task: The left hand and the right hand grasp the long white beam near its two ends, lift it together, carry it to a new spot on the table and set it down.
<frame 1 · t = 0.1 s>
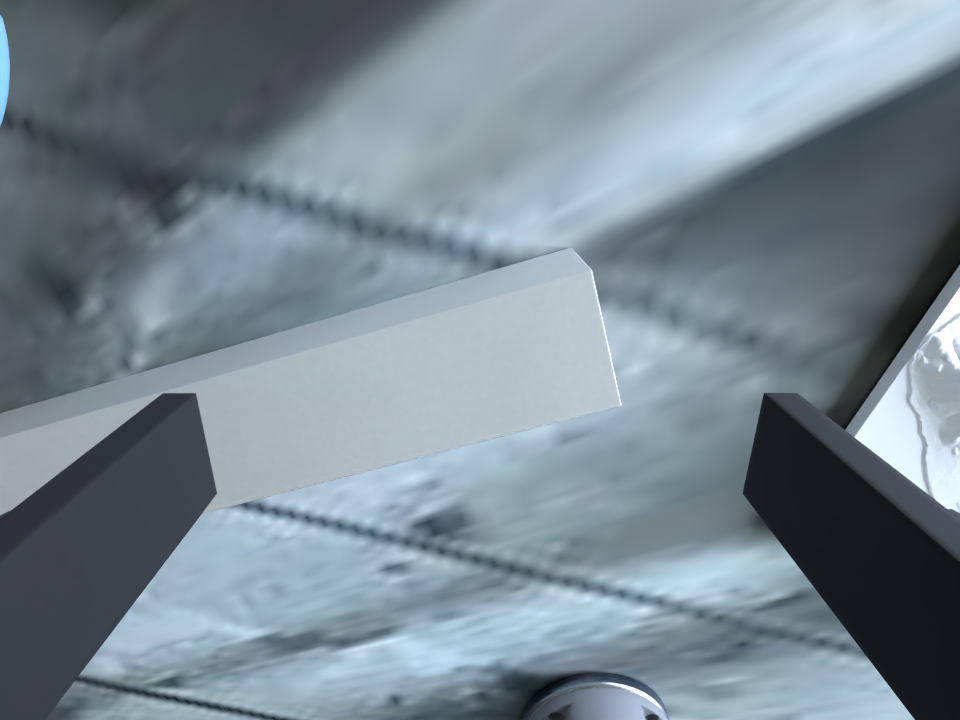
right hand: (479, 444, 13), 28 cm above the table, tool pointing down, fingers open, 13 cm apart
long white beam: (139, 431, 44), on the table
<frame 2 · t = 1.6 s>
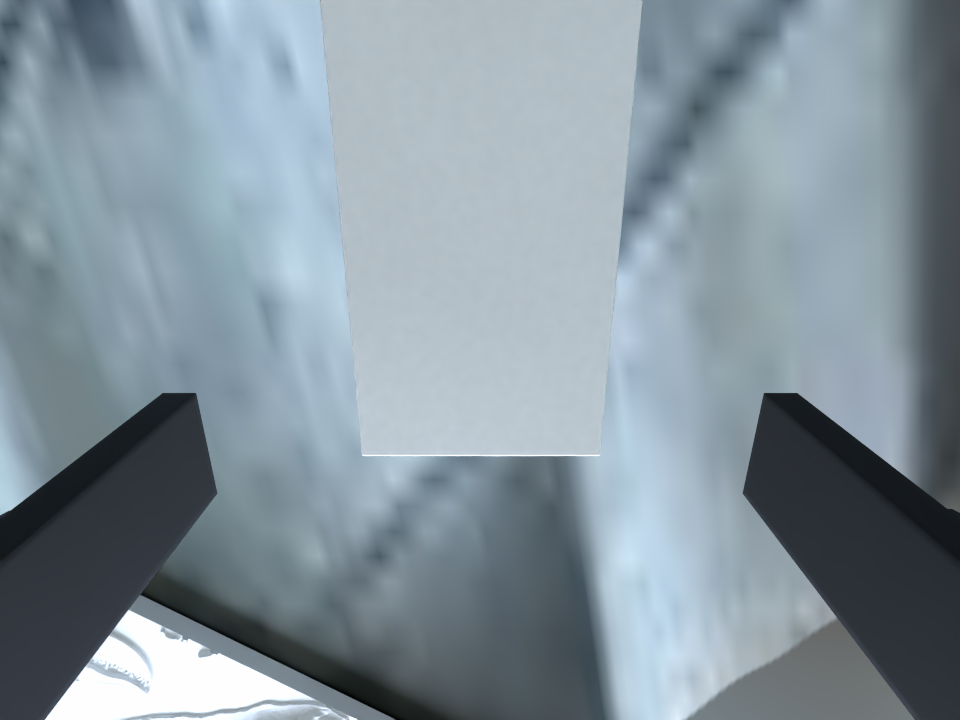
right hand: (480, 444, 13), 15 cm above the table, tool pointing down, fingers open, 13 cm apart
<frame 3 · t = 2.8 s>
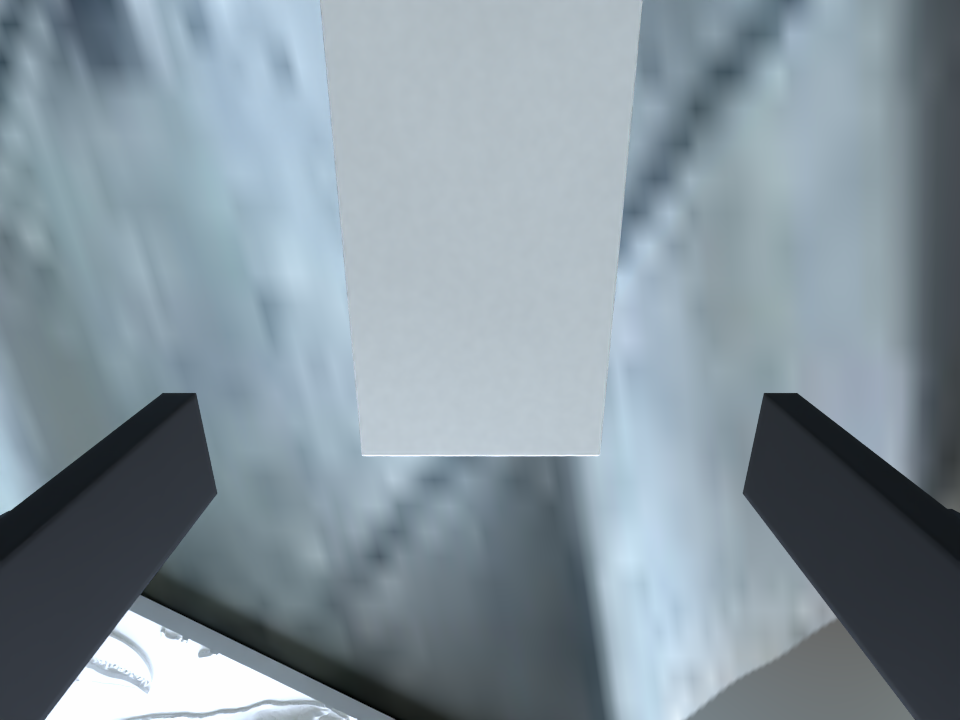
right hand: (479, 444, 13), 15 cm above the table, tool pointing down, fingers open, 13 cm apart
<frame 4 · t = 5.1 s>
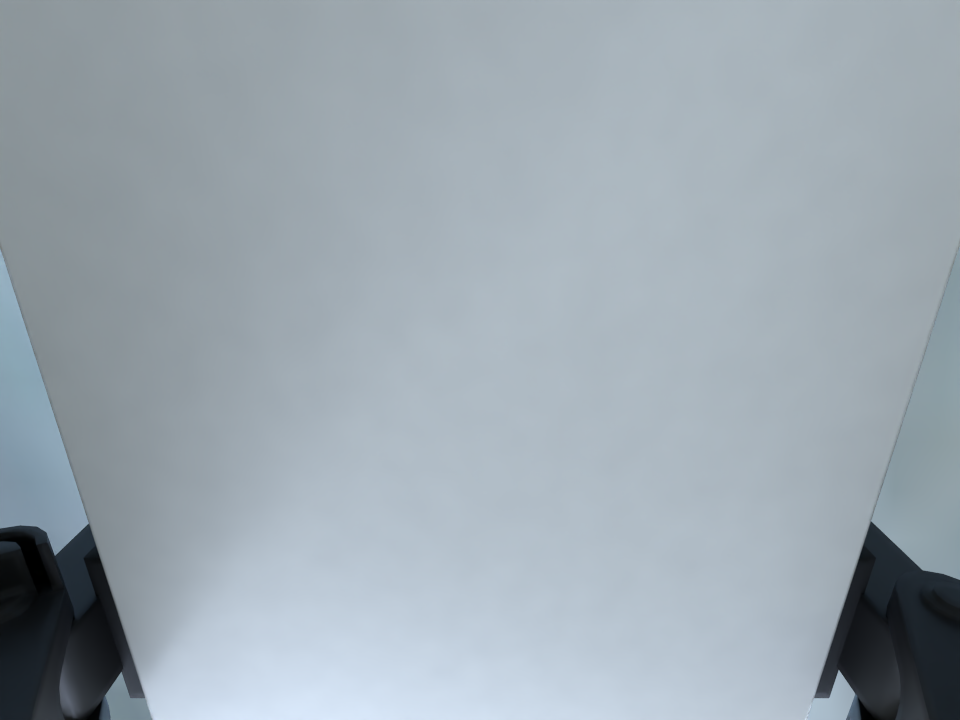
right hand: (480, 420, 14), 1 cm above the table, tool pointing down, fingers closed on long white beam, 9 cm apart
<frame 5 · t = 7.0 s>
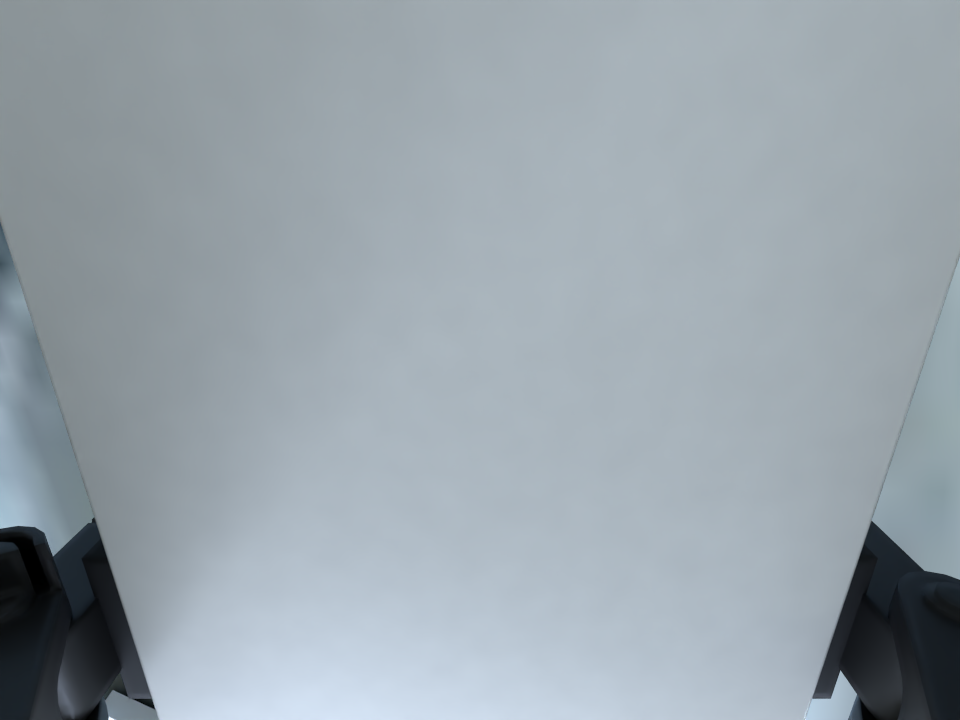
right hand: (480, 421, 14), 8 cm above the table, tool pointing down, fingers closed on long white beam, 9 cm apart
when the left hand's fingers open (2 cm above the table, at t = 8.9 s): long white beam drops 1 cm, on the table.
when the right hand's fingers open (2 cm above the table, at t = 8.9 s): long white beam drops 1 cm, on the table.
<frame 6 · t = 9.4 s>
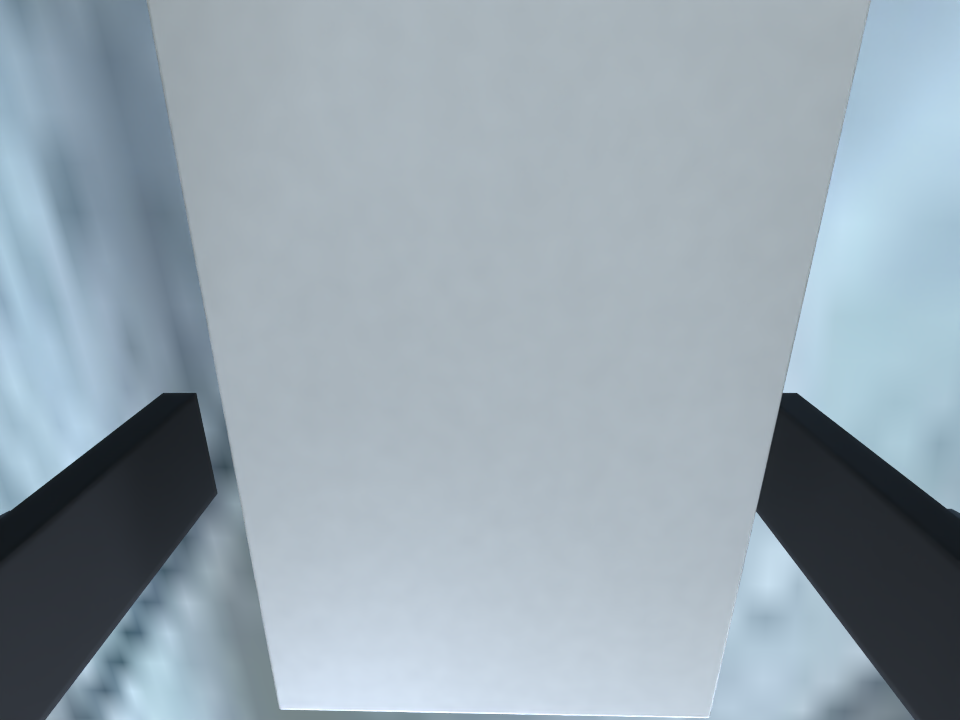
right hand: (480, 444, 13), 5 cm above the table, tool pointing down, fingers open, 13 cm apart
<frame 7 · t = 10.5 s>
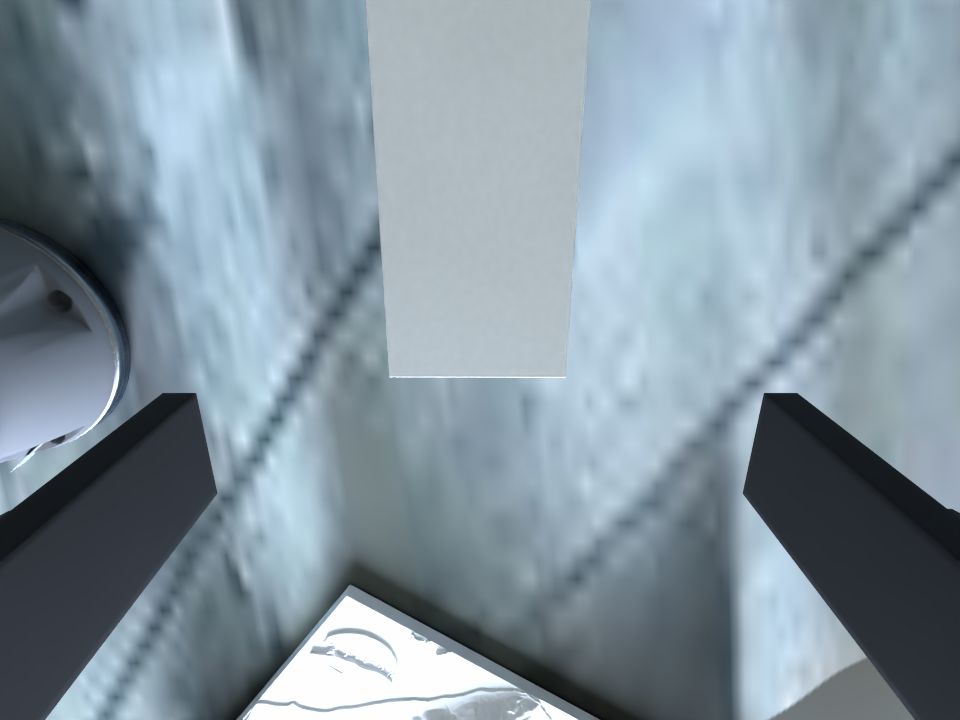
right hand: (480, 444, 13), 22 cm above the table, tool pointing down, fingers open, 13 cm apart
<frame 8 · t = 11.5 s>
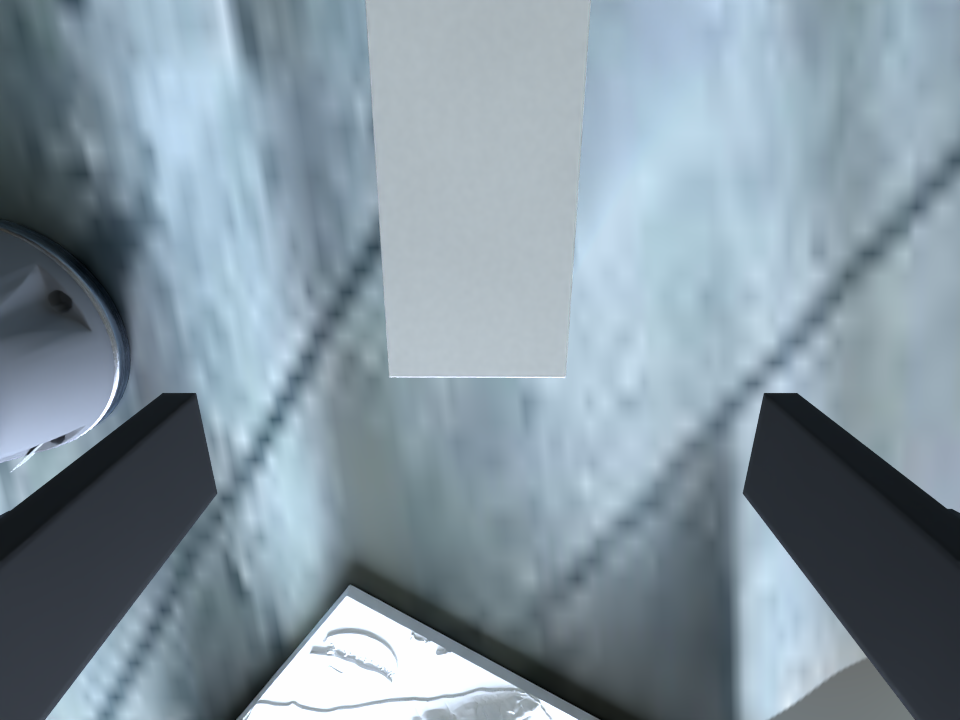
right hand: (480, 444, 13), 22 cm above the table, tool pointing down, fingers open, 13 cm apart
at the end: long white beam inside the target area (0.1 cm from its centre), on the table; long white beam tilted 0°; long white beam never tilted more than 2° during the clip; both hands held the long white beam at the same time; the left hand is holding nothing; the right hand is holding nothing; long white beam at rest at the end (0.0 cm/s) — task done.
